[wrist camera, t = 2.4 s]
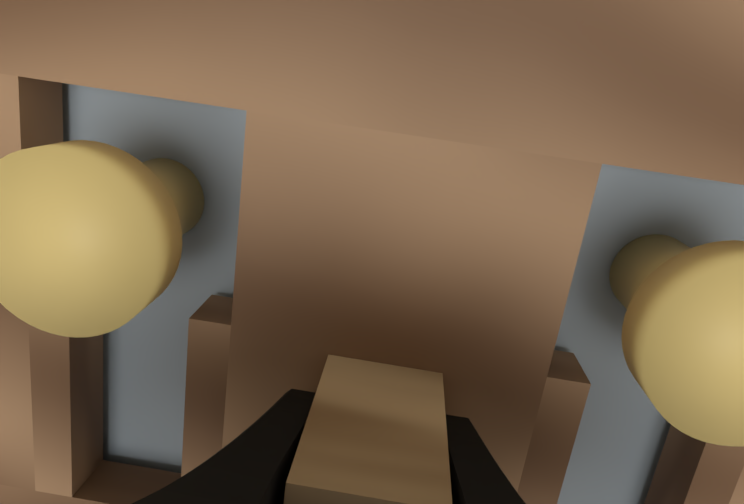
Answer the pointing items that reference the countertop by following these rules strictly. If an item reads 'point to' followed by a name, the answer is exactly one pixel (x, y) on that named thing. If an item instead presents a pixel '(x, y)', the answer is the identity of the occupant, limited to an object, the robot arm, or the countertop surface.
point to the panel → (380, 227)
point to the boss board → (217, 271)
